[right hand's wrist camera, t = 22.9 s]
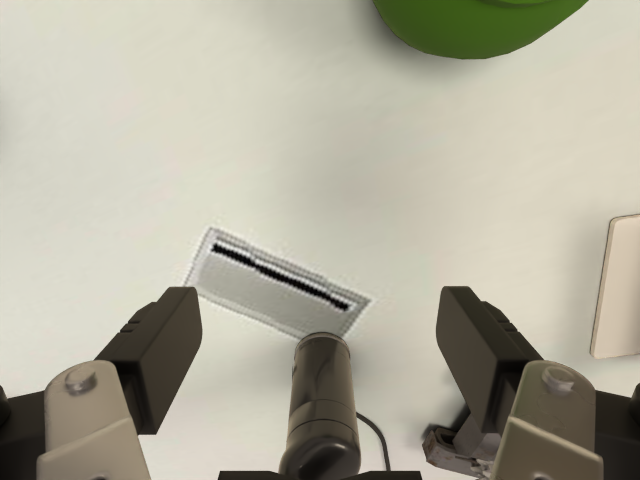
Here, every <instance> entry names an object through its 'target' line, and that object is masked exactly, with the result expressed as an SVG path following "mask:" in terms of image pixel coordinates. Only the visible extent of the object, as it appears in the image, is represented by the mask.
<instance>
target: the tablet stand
mask: <svg viewBox="0 0 640 480" xmlns="http://www.w3.org/2000/svg"><path fill="white" fill-rule="evenodd" d="M590 354H591V355H592V356H593V357H594V358H596V359H600V358H608V357H617V356H625V355H634V354H640V215H633V216H625V217H618V218H615V219H613V220H612V221H611V223H610V229H609V236H608V242H607V248H606V255H605V261H604V268H603V274H602V280H601V287H600V293H599V299H598V306H597V312H596V319H595V325H594V331H593V338H592V344H591V351H590Z"/></svg>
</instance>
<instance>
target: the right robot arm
mask: <svg viewBox="0 0 640 480" xmlns="http://www.w3.org/2000/svg"><path fill="white" fill-rule="evenodd" d="M436 338H437V343H438V346H439V348H440V350H441V352H442V354H443V356H444V358H445V360H446V363H447V365H448V367H449V369H450V371H451V373H452V375H453V377H454V379H455V381H456V383H457V385H458V387H459V389H460V391H461V393H462V395H463V397H464V399H465V401H466V403H467V405H468V407H469V409H470V411H471V413H472V415H473V417H474V419H475V421H476V423H477V425H478V427H479V430H480V432H481V433H499V435H500V437H501V442H500V445H499V448H498V452H497V455H496V458H495V461H494V465H493V468H492V471H491V474H490V478H489V480H640V383H639V384H638V385H637V386H636V388H635V391H634V393H633V395H632V398H630V397H625V396H620V395H616V394H611V393H607V392H602V391H597V390H595V389H594V387H593V385H592V384H591V383H590V382H589V381H588V380H587V379H586V378H585V377H584V376H583V375H581V374H580V373H578V372H577V371H575V370H573V369H571V368H569V367H567V366H565V365H562V364H559V363H556V362H552V361H546V360H544V359H543V358H542V357H541V356H540V355H539V354H538V352H537V351H536V350H535V349H534V348H533V347H532V346H531V344H530V343H529V342H528V341H527V340H526V339H525V338H524V337H523V335H522V334H521V333H520V332H517V329H516V327H515V326H514V325H513V324H512V323H510V321H509V320H508V318H507V317H506V316H505V315H504V314H503V313H502V312H501V310H499V309H497V308H496V307H494V306H493V305H491V304H489V303H488V302H486V301H480V299H479V298H478V297H477V296H476V295H475V293H474V292H473V291H472V290H471V288H470V287H468V286H444V287H443V288H442V291H441V296H440V303H439V310H438V317H437V324H436ZM201 340H202V323H201V316H200V309H199V302H198V295H197V291H196V289H195V287H169V288H168V289H167V290H166V291H165V293H164V294H163V295H162V296H161V297H160V299H159V300H158V301H157V302H151V303H150V304H148V305H146V306H145V307H143V308H141V309H140V310H138V311H137V312H136V313H135V314H134V315H133V316H132V318H131V319H130V320H129V321H128V324H125V325H124V327H123V328H122V329H121V330H120V333H117V334H116V336H115V337H114V338H113V339H112V340H111V341H110V342H109V343H108V345H107V346H106V347H105V348H104V349H103V350H102V351H101V352H100V354H99V355H98V356H97V357H96V358H95V359H94V360H93V361H88V362H84V363H81V364H78V365H75V366H73V367H71V368H69V369H67V370H65V371H63V372H62V373H60V374H59V375H57V376H56V377H55V378H54V379H53V380H52V381H51V382H50V383H49V384H48V385H47V387H46V389H45V390H44V391H40V392H36V393H31V394H27V395H22V396H18V397H13V398H8V399H7V397H6V395H5V393H4V390H3V388H2V386H1V385H0V480H151V478H150V474H149V471H148V468H147V465H146V461H145V458H144V455H143V452H142V448H141V445H140V442H139V439H138V435H156V434H157V432H158V430H159V428H160V426H161V424H162V422H163V420H164V418H165V416H166V414H167V412H168V410H169V408H170V406H171V404H172V402H173V400H174V398H175V395H176V393H177V391H178V389H179V387H180V385H181V383H182V381H183V379H184V377H185V375H186V373H187V371H188V369H189V367H190V365H191V363H192V361H193V359H194V357H195V355H196V353H197V351H198V349H199V347H200V344H201ZM294 360H295V363H294V372H293V369H292V392H291V402H290V412H289V423H288V433H287V444H286V451H285V452H284V454H283V456H282V458H281V461H280V465H279V471H278V473H275V472H271V471H220V473H219V477H218V480H422V477H421V473H420V471H391V470H390V464H389V458H388V452H387V446H386V442H385V439H384V437H383V435H382V433H381V432H380V430H379V429H378V428H377V427H376V426H375V425H374V424H373V423H372V422H371V421H369V420H368V419H366V418H365V417H364V416H362V415H360V414H359V413H357V412H356V410H355V401H354V392H353V384H352V375H351V366H350V352H349V348H348V346H347V345H346V343H345V342H344V341H343V340H342V339H341V338H339V337H338V336H336V335H333V334H330V333H315V334H311V335H309V336H307V337H305V338H304V339H303V340H301V341H300V343H299V344H298V345H297V347H296V350H295V357H294ZM356 417H357V418H359V419H360V420H362V421H363V422H365V423H366V424H368V425H369V426H370V427H371V428H372V429H373V430H374V431H375V432H376V433H377V435H378V436H379V438H380V440H381V442H382V446H383V451H384V457H385V462H386V469H387V471H369V472H365V473H361V474H358V473H359V470H360V466H361V451H360V443H359V434H358V426H357V418H356Z"/></svg>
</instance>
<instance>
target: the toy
mask: <svg viewBox="0 0 640 480" xmlns="http://www.w3.org/2000/svg"><path fill="white" fill-rule="evenodd" d="M500 442H501V437H500V435H499V433H481V432H480V430H479V427H478V425H477V423H476V421H475V419H474V417H473V415H472V413H471V414H470V415H469V417H468V418H467V420H466V421H465V423H464V424H463V426H462V427H461V429H460V430H459V432H454V431H451V430H447V429H443V428H437V430H436V431H435V433H434V432H433V430H431V431H430V433H429V435H428V436H427V438H426V439H425V441H424V442H423V444H422V446H423V450H424V453H425V456H426V459H427V460H426V462H428V463H430V464H432V465H433V466H435V467H438V468H442V469H446V470H450V471H454V472H457V473H461V474H465V475H469V476H473V477H477V478H479V479H476V480H489V478H490V474H491V471H492V468H493V465H494V461H495V458H496V455H497V452H498V448H499V445H500Z"/></svg>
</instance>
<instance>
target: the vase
mask: <svg viewBox="0 0 640 480" xmlns="http://www.w3.org/2000/svg"><path fill="white" fill-rule="evenodd" d="M587 1H588V0H373V2H374V4H375V6H376V8H377V10H378V11H379V13H380V15H381V17H382V19H383V21H384V22H385V23H386V24H387V25H388V27H389V28H390V29H391V30H392V31H393V33H394V34H395V35H396V36H398V37H399V38H400V39H401V40H403V41H404V42H405V43H407V44H408V45H409V46H411V47H413V48H415V49H418V50H420V51H422V52H424V53H427V54H432V55H437V56H442V57H449V58H457V59H487V58H491V57H495V56H500V55H504V54H508V53H511V52H513V51H515V50H517V49H519V48H522V47H524V46H526V45H528V44H531V43H532V42H534V41H535V40H537V39H538V38H540V37H541V36H543V35H544V34H545V33H547V32H548V31H550V30H551V29H553V28H554V27H555V26H557V25H558V24H560V23H561V22H562V21H564V20H565V19H566V18H568V17H569V16H570V15H572V14H573V13H574V12H576V11H577V10H578V9H580V8H581V7H582V6H583V5H584V4H585V3H586V2H587Z"/></svg>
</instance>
